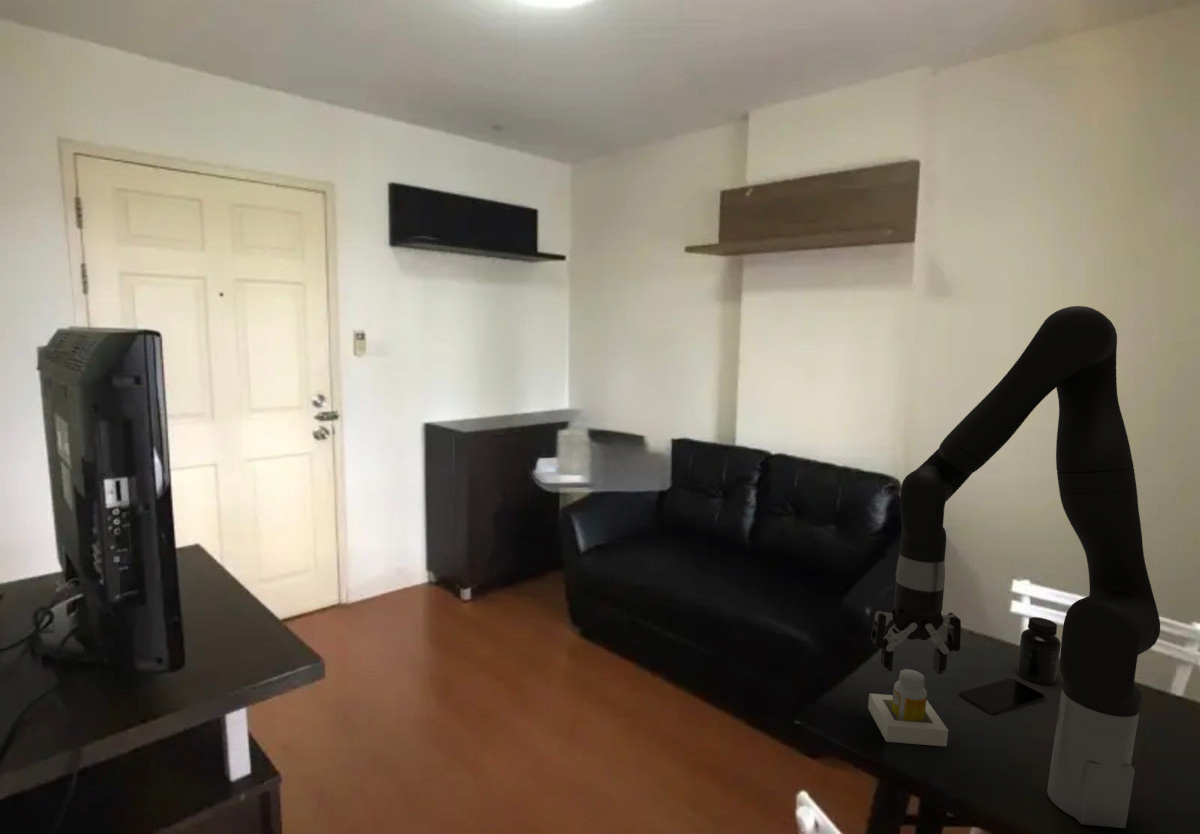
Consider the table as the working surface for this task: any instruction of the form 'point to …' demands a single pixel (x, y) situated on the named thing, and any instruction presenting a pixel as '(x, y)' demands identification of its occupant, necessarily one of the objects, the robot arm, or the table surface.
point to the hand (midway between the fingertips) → (912, 670)
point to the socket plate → (907, 724)
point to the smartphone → (1002, 696)
